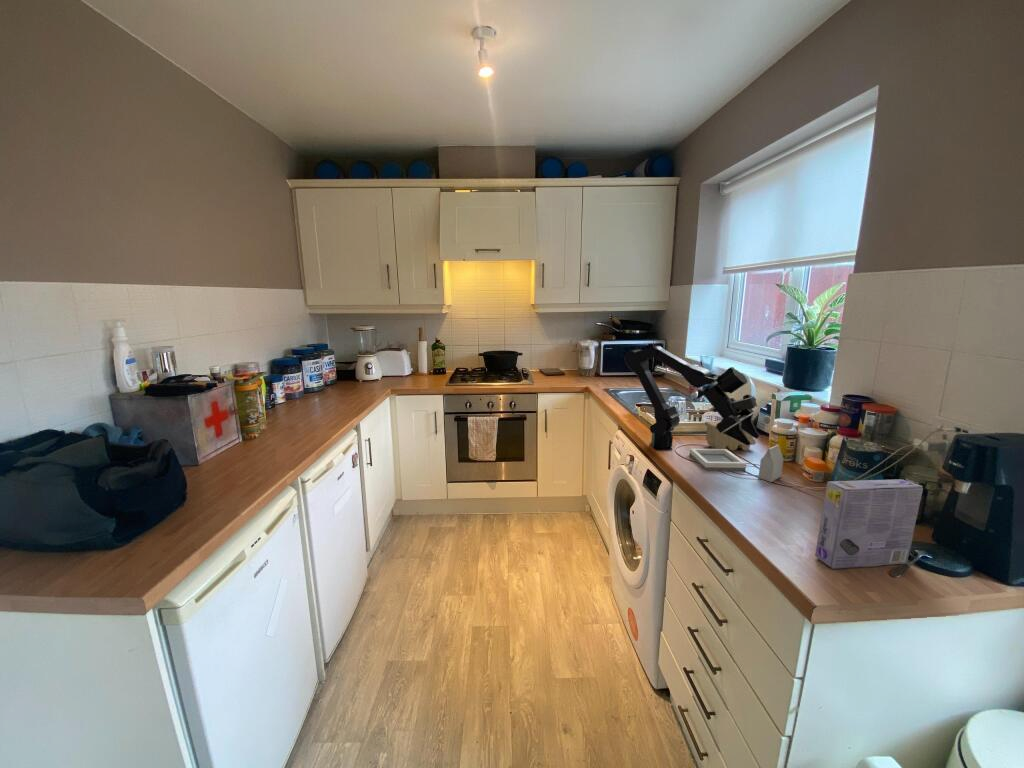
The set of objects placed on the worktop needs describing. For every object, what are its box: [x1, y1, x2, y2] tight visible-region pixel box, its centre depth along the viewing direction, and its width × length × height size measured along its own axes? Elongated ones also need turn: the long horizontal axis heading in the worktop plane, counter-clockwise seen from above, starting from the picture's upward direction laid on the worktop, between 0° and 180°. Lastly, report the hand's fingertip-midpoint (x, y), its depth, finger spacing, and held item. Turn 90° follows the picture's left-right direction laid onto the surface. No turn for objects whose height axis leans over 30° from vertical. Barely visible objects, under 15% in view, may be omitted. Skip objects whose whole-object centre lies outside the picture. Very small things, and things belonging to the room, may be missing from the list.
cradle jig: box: [688, 448, 747, 472], centre depth 138 cm, size 13×13×2 cm
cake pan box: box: [814, 478, 924, 570], centre depth 85 cm, size 19×5×18 cm, turn 97°
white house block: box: [758, 444, 784, 483], centre depth 127 cm, size 4×7×10 cm, turn 125°
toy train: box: [704, 420, 757, 451], centre depth 151 cm, size 6×17×10 cm, turn 95°
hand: (753, 441), depth 130 cm, fingers open, 9 cm apart
